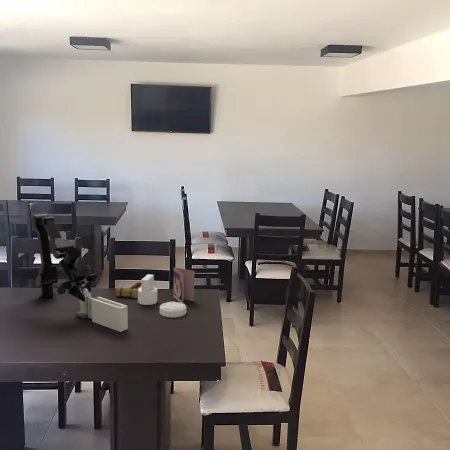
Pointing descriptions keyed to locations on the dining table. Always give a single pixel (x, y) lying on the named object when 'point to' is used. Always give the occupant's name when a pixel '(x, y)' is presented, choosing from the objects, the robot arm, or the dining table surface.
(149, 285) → the base with upright slab
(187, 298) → the greeting card
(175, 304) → the mooncake
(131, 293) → the gavel
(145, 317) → the dining table surface
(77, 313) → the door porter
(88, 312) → the door panel
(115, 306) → the white slotted block
